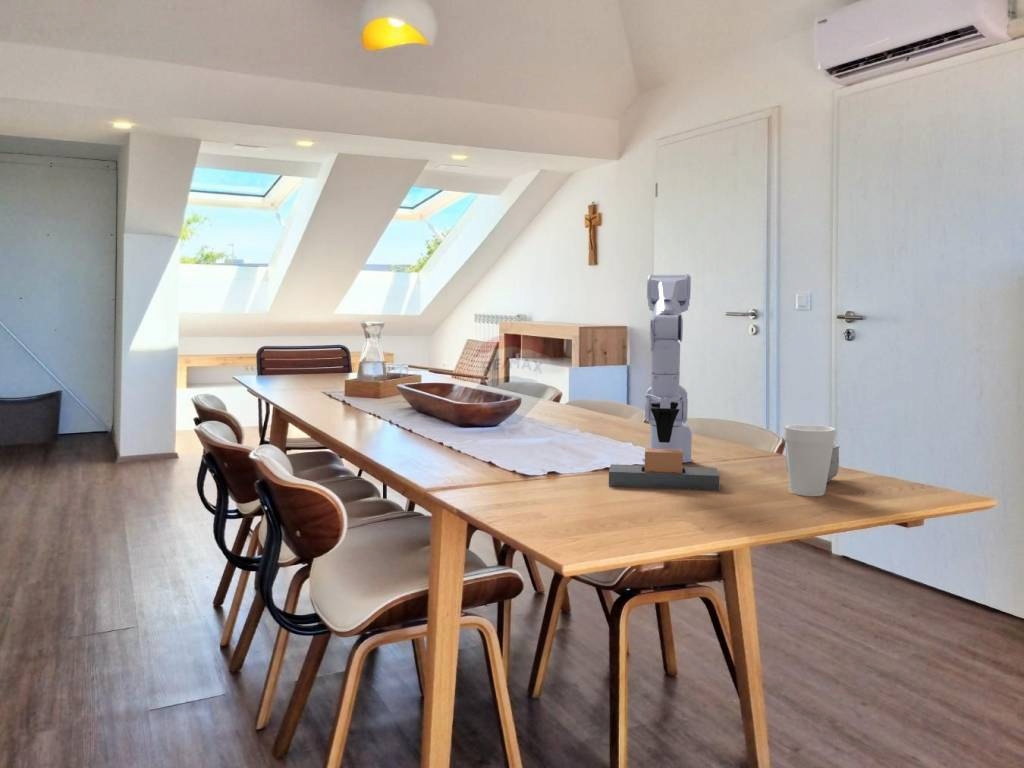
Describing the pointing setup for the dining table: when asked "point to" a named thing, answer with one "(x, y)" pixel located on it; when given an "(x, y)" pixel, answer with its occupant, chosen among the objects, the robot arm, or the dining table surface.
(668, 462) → the tan orange block
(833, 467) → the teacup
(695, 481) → the slate rail
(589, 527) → the dining table surface
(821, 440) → the foam cup
